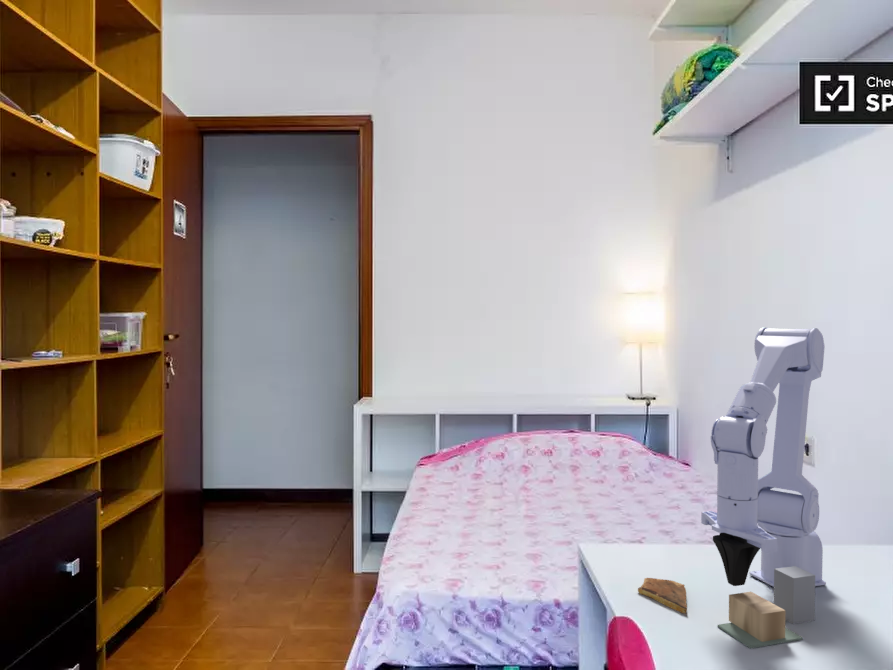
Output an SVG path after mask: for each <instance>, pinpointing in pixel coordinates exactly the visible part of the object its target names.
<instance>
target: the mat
mask: <svg viewBox="0 0 893 670" xmlns="http://www.w3.org/2000/svg"><path fill="white" fill-rule="evenodd" d="M717 628H718V629H720V630H722V631H723V632H725V633H726V634H728V635H729V636H731V637H732V638H733V639H735V640H737V641H738V642H740V643H741V644H743V645H744V646H746V647H748V648H749V649H756V648H761V647H768V646H773V645H780V644H785V643H791V642H797V641H802V640H804V639H803V637H802V636H801V635H799V634H798V633H795V631H793V630H791V629H789V628H787V627H786V626H785V638H782V639H776V640H770V641H764V642H761V641H760V640H758V639H757V638H755V637H754V636H752V635H750V634H749V633H747V632H746V631H744V630H743V629H741V628H739V627H738V626H736V625H735V624H733V623H732V622H726V623H720V624H717Z"/></svg>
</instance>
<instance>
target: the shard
mask: <svg viewBox="0 0 893 670" xmlns="http://www.w3.org/2000/svg"><path fill="white" fill-rule="evenodd" d="M637 592H638V594H640V595H643V596H646V597H649V598H651V599H653V600H655V601H657V602H658V603H660V604H662V605H664V606H666V607H667V608H670V609H673V610H674V611H676V612H679V613H682V614H685V615H686V614H687V611H688V605H687V590H686V587H685V584H682V583H680V582H677V581H675V580H671V579H661V578H653V577H644V579H643V583H642V585H641V586H640V587H638V588H637Z"/></svg>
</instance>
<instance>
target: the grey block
mask: <svg viewBox="0 0 893 670" xmlns="http://www.w3.org/2000/svg"><path fill="white" fill-rule="evenodd" d="M773 604H775V605H776V606H778V607H780V608H782V609H784V610H786V611H785V621H787V622H788V623H791V624H792V625H797V624H802V623H808V622H813V621H815V620H816V615H815V610H816V586H815V575H814V574H811V573H809V572H807V571H805V570H803V569H801V568H798V567H796V566H792V567H784V568H776V569H774V587H773Z"/></svg>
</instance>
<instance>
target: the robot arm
mask: <svg viewBox="0 0 893 670" xmlns="http://www.w3.org/2000/svg"><path fill="white" fill-rule="evenodd" d="M823 336H824V335H823V333H822V332H821V331H820V330H819V328H816V327H812V328H777V327H776V328H773V327H771V328H770V327H761V328H760V329H759V330H758V331H757V332H756V334H755V339H754V353H755V356H756V361H757V363H756V365H755V368H754V371H753V375H752V376H751V380H750V382H747V383H744V384H742V385H741V386H740V387H739V389H738V391H737V393H736V394H735V397H734V399H733V401H732V403H731V405H730V407H729V408H728V410H727V412H726V414H725V415H723V416H721V417H720V418H717V419H716V420H715V421H714V422H713V425H712V427H711V435H710V445H711V449H712V451H713V461H714V464H716V465H717V483H716V484H717V486H716V488H717V492H716V493H717V494H716V495H717V497H716V498H717V499H716V501H717V502H716V505H717V506H716V512H715V511H713V510H707V511H701V520H700V521H701V522H700V523H701V525H703V526H711V530H712V531H714V532H716V533H719V534H717V535H712V542H713V543H714V545H715V547H716V549H717V551H718V553H719V555H720V557H721V561H722V565H723V567H724V572H725V575H726V580H727V583H728V584H729V585H731V586H733V587H737V586H744V585H745V584H746V581H747V577H748V574H749V575H750V576H751V577H753V578H756V579H758V580H760V581H761V582H763V583H766V584H767V585H769V586H771V587H773V588H774V569H776V568H784V567H792V566H796V567H798V568H801V569H803V570H805V571H807V572H809V573H811V574H814V575H815V587H819V586H825V585H827V582H826V581H825V580H823V553H824V552H823V544H822V541H821V538H820V536H819V535H818V533H817V532H816V530H817V527H818V523H819V520H820V519H819V518H820V504H819V492H818V491H819V490H818V488H816V486H815V485H814V484H812V483H811V482H810V481H809V480H808V478H806V477H805V476H804V474H803V467H804V466H803V464H804V454H805V443H806V433H807V432H806V431H807V422H808V421H807V420H808V409H809V400H810V399H809V398H810V390H811V384H812V382H813V381H814V380H817V379H819V378H821V377H822V372H823V370H824V358H825V341H824V337H823ZM778 385H779V387H778V398H776V395H775V393H774V391H775V389H776V388H777V386H778ZM776 404H777V407H776V408H777V409H776V416H775V417H776V418H775V428H774V429H775V431H774V442H773V453H772V459H771V460H772V461H771V462H772V463H771V470H770V472H768V473H767V474H765V475H763V476H761V477H760V478H759V457H761V456H762V455H763V452H764V449H765V446H766V437H767V433H768V427H767V424H768V422H769V419H770V418H771V415H772V412H773V411H774V408H775V405H776ZM773 489H774V490H773ZM775 489H780V490H787V491H793V492H796V493H792V492H787V491H786V492H785V491H780V490H775ZM797 493H798V494H797ZM760 550H761V551H760ZM758 552H760V569H759V570H752V571H750V567H751V565H752V563H753V560H754V559H755V557H756V555H757V554H758Z"/></svg>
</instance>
